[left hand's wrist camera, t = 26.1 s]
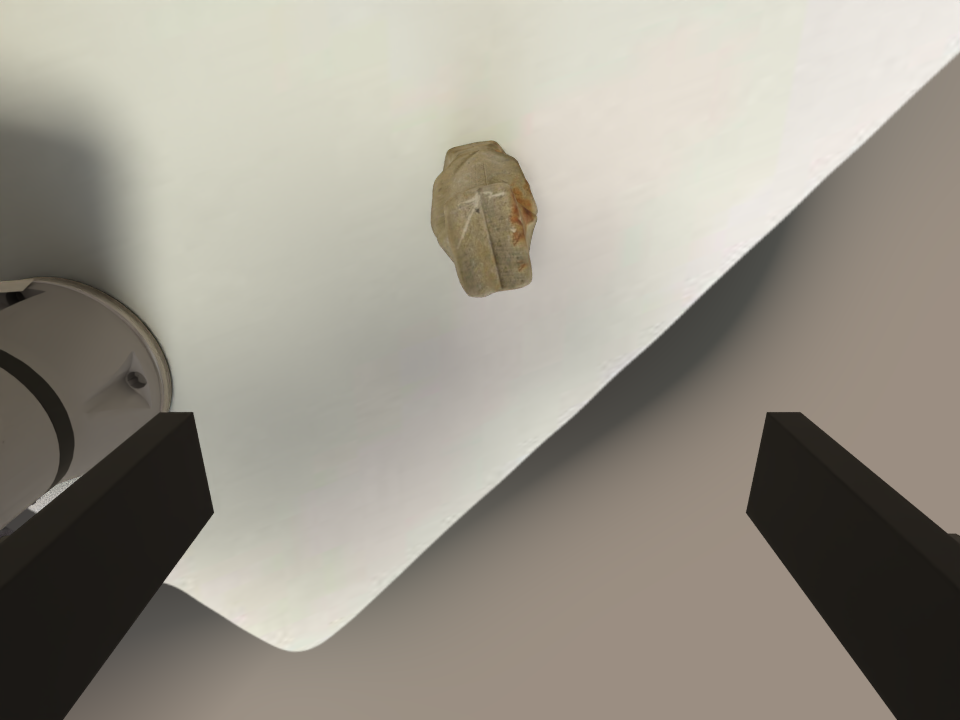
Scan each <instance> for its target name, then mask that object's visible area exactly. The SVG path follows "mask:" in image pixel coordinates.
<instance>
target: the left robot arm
mask: <svg viewBox="0 0 960 720" xmlns="http://www.w3.org/2000/svg"><path fill="white" fill-rule="evenodd" d="M171 394H172V389H171V378H170V373H169V369H168V365H167V362H166V359H165V357H164V355H163V353H162V350H161V348H160V347H159V345H158V343H157V341H156V340H155V338H154V337H153V335H152V334H151V332H150V331H149V330H148V329H147V327H146V326H145V325H144V324H143V323H142V322H141V321H140V320H139V318H138V317H137V316H136V315H134V314H133V313H132V312H131V311H130V310H129V309H128V308H126V307H125V306H124V305H123V304H121V303H120V302H119V301H117V300H115V299H114V298H112V297H111V296H109V295H107V294H105V293H104V292H102V291H100V290H98V289H95V288H93V287H91V286H88V285H86V284H83V283H80V282H76V281H72V280H69V279H63V278H55V277H34V278H27V279H22V280H11V281H0V530H1V529H3V528H4V527H5V526H6V525H7V524H9V523H10V522H11V521H12V520H13V519H15V518H16V517H17V516H18V515H20V514H21V513H22V512H23V511H24V510H26V509H27V508H28V507H29V506H30V505H33V504H35V503H36V500H38V499H39V498H40V497H41V496H42V495H44V494H45V493H46V492H47V491H49V490H50V489H51V488H53V487H54V486H55V485H57V484H58V483H61V482H64V481H67V480H70V479H73V478H76V477H79V476H81V475H83V476H82V477H80V478H79V479H78V480H77V481H76V482H74V483H73V484H72V485H71V486H70V487H68V488H67V489H66V490H65V491H63V492H62V493H61V494H60V495H59V496H57V497H56V498H55V499H54V500H53V501H51V502H50V503H49V504H48V505H46V506H45V507H44V508H43V509H42V510H40V511H39V512H38V513H37V514H36V515H34V516H33V517H32V518H31V519H29V520H28V521H27V522H26V523H25V524H23V525H22V526H21V527H20V528H19V529H17V530H16V531H15V532H14V533H12V534H11V535H10V536H3V537H1V538H0V720H63V719H64V718H65V716H66V715H67V713H68V712H69V711H70V709H71V708H72V707H73V705H74V704H75V702H76V701H77V700H78V698H79V697H80V696H81V694H82V693H83V692H84V690H85V689H86V687H87V686H88V685H89V683H90V682H91V681H92V679H93V678H94V676H95V675H96V674H97V672H98V671H99V670H100V668H101V667H102V665H103V664H104V663H105V661H106V660H107V659H108V657H109V656H110V655H111V653H112V652H113V650H114V649H115V648H116V646H117V645H118V644H119V642H120V641H121V639H122V638H123V637H124V635H125V634H126V633H127V631H128V630H129V629H130V627H131V626H132V624H133V623H134V622H135V620H136V619H137V618H138V616H139V615H140V613H141V612H142V611H143V609H144V608H145V607H146V605H147V604H148V602H149V601H150V600H151V598H152V597H153V596H154V594H155V593H156V592H157V590H158V589H159V587H160V586H161V585H162V583H163V582H164V581H165V579H166V578H167V576H168V575H169V574H170V572H171V571H172V570H173V568H174V567H175V565H176V564H177V563H178V561H179V560H180V559H181V557H182V556H183V555H184V553H185V552H186V550H187V549H188V548H189V546H190V545H191V544H192V542H193V541H194V539H195V538H196V537H197V535H198V534H199V533H200V531H201V530H202V528H203V527H204V526H205V524H206V523H207V522H208V520H209V519H210V518H211V516H212V515H213V513H214V510H213V506H212V501H211V496H210V491H209V486H208V482H207V477H206V472H205V467H204V462H203V458H202V453H201V448H200V443H199V438H198V433H197V429H196V424H195V419H194V414H193V412H168V411H169V408H170V403H171ZM746 513H747V515H748V516H749V517H750V519H751V520H752V522H753V523H754V524H755V526H756V527H757V528H758V530H759V531H760V533H761V534H762V535H763V537H764V538H765V539H766V541H767V542H768V544H769V545H770V546H771V548H772V549H773V550H774V552H775V553H776V554H777V556H778V557H779V559H780V560H781V561H782V563H783V564H784V565H785V567H786V568H787V570H788V571H789V572H790V574H791V575H792V576H793V578H794V579H795V581H796V582H797V583H798V585H799V586H800V587H801V589H802V590H803V592H804V593H805V594H806V596H807V597H808V598H809V600H810V601H811V602H812V604H813V605H814V606H815V608H816V609H817V611H818V612H819V613H820V615H821V616H822V618H823V619H824V620H825V622H826V623H827V624H828V626H829V627H830V629H831V630H832V631H833V632H834V634H835V635H836V637H837V638H838V639H839V641H840V642H841V644H842V645H843V646H844V648H845V649H846V650H847V652H848V653H849V654H850V656H851V657H852V659H853V660H854V661H855V663H856V664H857V665H858V667H859V668H860V669H861V671H862V672H863V674H864V675H865V676H866V678H867V679H868V681H869V682H870V683H871V685H872V686H873V687H874V689H875V690H876V692H877V693H878V694H879V696H880V697H881V698H882V700H883V701H884V702H885V704H886V705H887V707H888V708H889V709H890V711H891V712H892V713H893V715H894V716H895V718H896V719H897V720H960V536H959V535H957V534H948V533H946V532H945V531H944V530H943V529H941V528H940V527H939V526H938V525H937V524H935V523H934V522H933V521H932V520H931V519H929V518H928V517H927V516H926V515H924V514H923V513H922V512H921V511H920V510H918V509H917V508H916V507H915V506H914V505H912V504H911V503H910V502H909V501H907V500H906V499H905V498H904V497H903V496H901V495H900V494H899V493H898V492H897V491H895V490H894V489H893V488H892V487H890V486H889V485H888V484H887V483H886V482H884V481H883V480H882V479H881V478H880V477H878V476H877V475H876V474H875V473H873V472H872V471H871V470H870V469H869V468H867V467H866V466H865V465H864V464H863V463H861V462H860V461H859V460H858V459H857V458H855V457H854V456H853V455H852V454H850V453H849V452H848V451H847V450H846V449H844V448H843V447H842V446H841V445H839V444H838V443H837V442H836V441H835V440H833V439H832V438H831V437H830V436H829V435H827V434H826V433H825V432H824V431H823V430H821V429H820V428H819V427H818V426H816V425H815V424H814V423H813V422H812V421H810V420H809V419H808V418H807V417H806V416H804V415H803V414H802V413H801V412H767V414H766V419H765V424H764V429H763V433H762V438H761V443H760V448H759V453H758V458H757V462H756V467H755V472H754V477H753V482H752V486H751V491H750V496H749V501H748V506H747V510H746Z"/></svg>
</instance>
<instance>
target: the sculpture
mask: <svg viewBox="0 0 960 720" xmlns="http://www.w3.org/2000/svg"><path fill="white" fill-rule="evenodd" d="M537 212H538V210H537V206H536V203H535V201H534V198H533V196H532V193H531V190H530V186H529V184H528V182H527V180H526V179H525V177H524V174H523V172H522V170H521V168H520V166H519V163H518V161H517V160H516V159H515V158H513V157H511V156H509V155H507V154H505V152H504V151H503V149H502V148H501V146H500V145H499V144H498V143H497V142H495V141H484V142H476V143H471V144H467V145H462V146H458V147H454V148H451V149H449V150H448V152H447V154H446V157H445V163H444V168H443V172H442V173H441V174H440V175H439V176H438V177H437V179H436V180H435V182H434V186H433V199H432V210H431V226H432V229H433V232H434V234H435V236H436V237H437V240H438V242H439V245H440V246H441V247H442V249H443V250H444V251H445V252H446V253H447V255H448V256H449V257H450V258H451V260H452V261H453V262H454V263H455V267H456V271H457V274H458V278H459V281H460V283H461V285H462V287H463V289H464V290H465V292H466V293H467V294H468V296H471V297H486V296H488V295H490V294H492V293H495V292H499V291H505V290H513V289H518V288H522V287H525V286H526V285H528V284H530V282H531V280H532V268H531V262H530V256H529V250H530V243H531V238H532V234H533V230H534V227H535V224H536V222H537V216H536V215H537Z"/></svg>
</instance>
